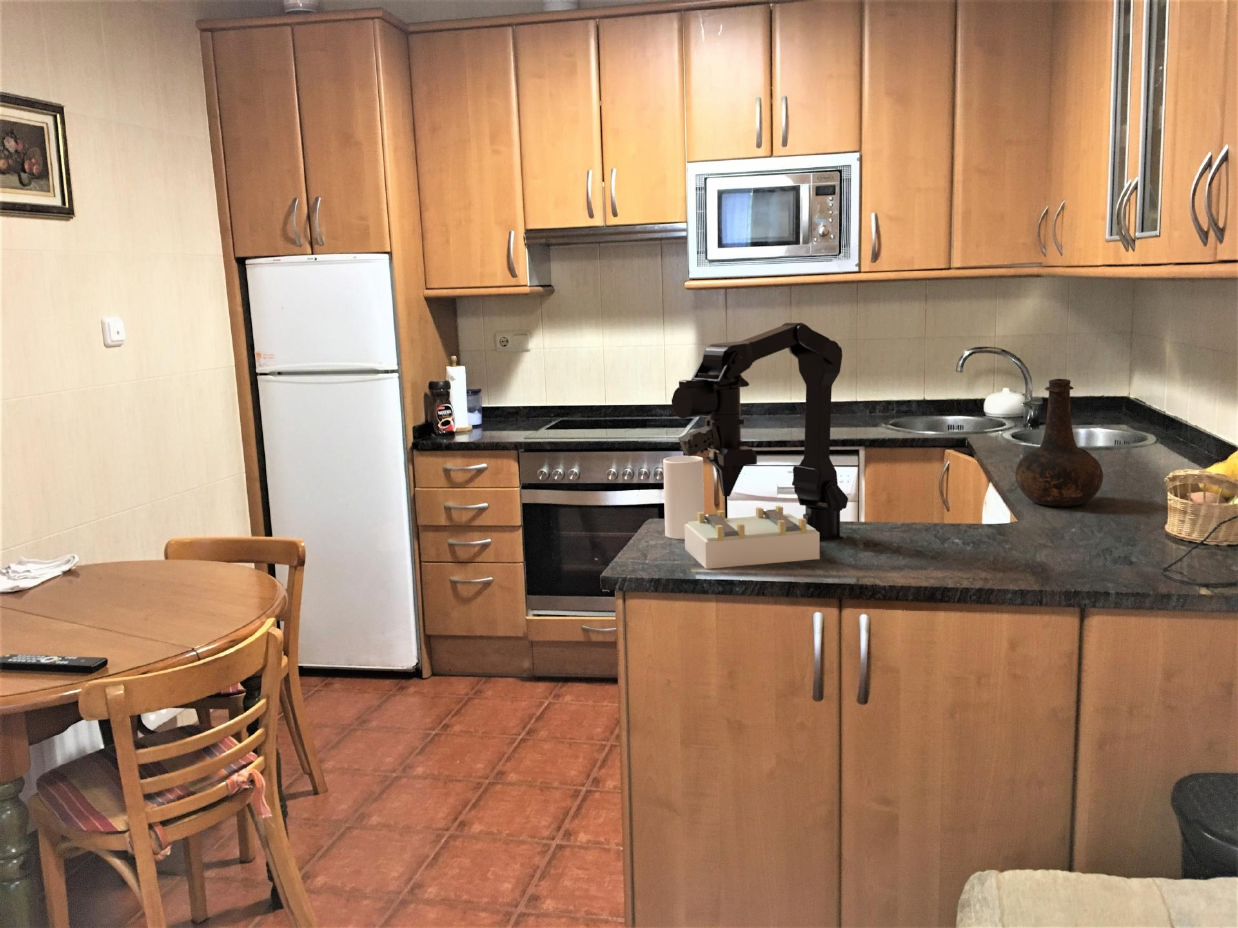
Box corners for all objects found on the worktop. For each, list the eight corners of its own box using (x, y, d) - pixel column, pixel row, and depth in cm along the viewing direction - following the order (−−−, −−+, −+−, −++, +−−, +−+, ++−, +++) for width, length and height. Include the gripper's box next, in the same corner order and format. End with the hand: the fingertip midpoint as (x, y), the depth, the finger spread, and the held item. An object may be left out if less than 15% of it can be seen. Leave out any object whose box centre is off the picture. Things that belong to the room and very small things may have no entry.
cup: (672, 540, 207) (670, 463, 204) (660, 531, 215) (658, 457, 212) (710, 536, 209) (708, 460, 206) (696, 528, 217) (695, 454, 214)
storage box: (790, 539, 204) (790, 503, 203) (819, 558, 190) (819, 519, 189) (685, 548, 200) (684, 511, 199) (706, 568, 186) (705, 528, 185)
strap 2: (762, 514, 201) (762, 509, 201) (774, 513, 202) (774, 508, 202) (786, 531, 188) (786, 526, 188) (799, 530, 189) (799, 525, 189)
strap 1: (704, 519, 199) (704, 514, 199) (716, 518, 200) (716, 513, 199) (724, 536, 186) (724, 531, 186) (737, 535, 186) (737, 530, 186)
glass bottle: (1119, 506, 224) (1126, 379, 219) (1056, 515, 218) (1062, 385, 213) (1057, 492, 240) (1062, 374, 236) (997, 500, 234) (1001, 379, 229)
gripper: (669, 409, 194) (672, 489, 197) (696, 421, 176) (698, 509, 179) (725, 406, 196) (727, 485, 199) (757, 418, 178) (758, 505, 181)
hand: (726, 496), depth 189 cm, fingers closed
